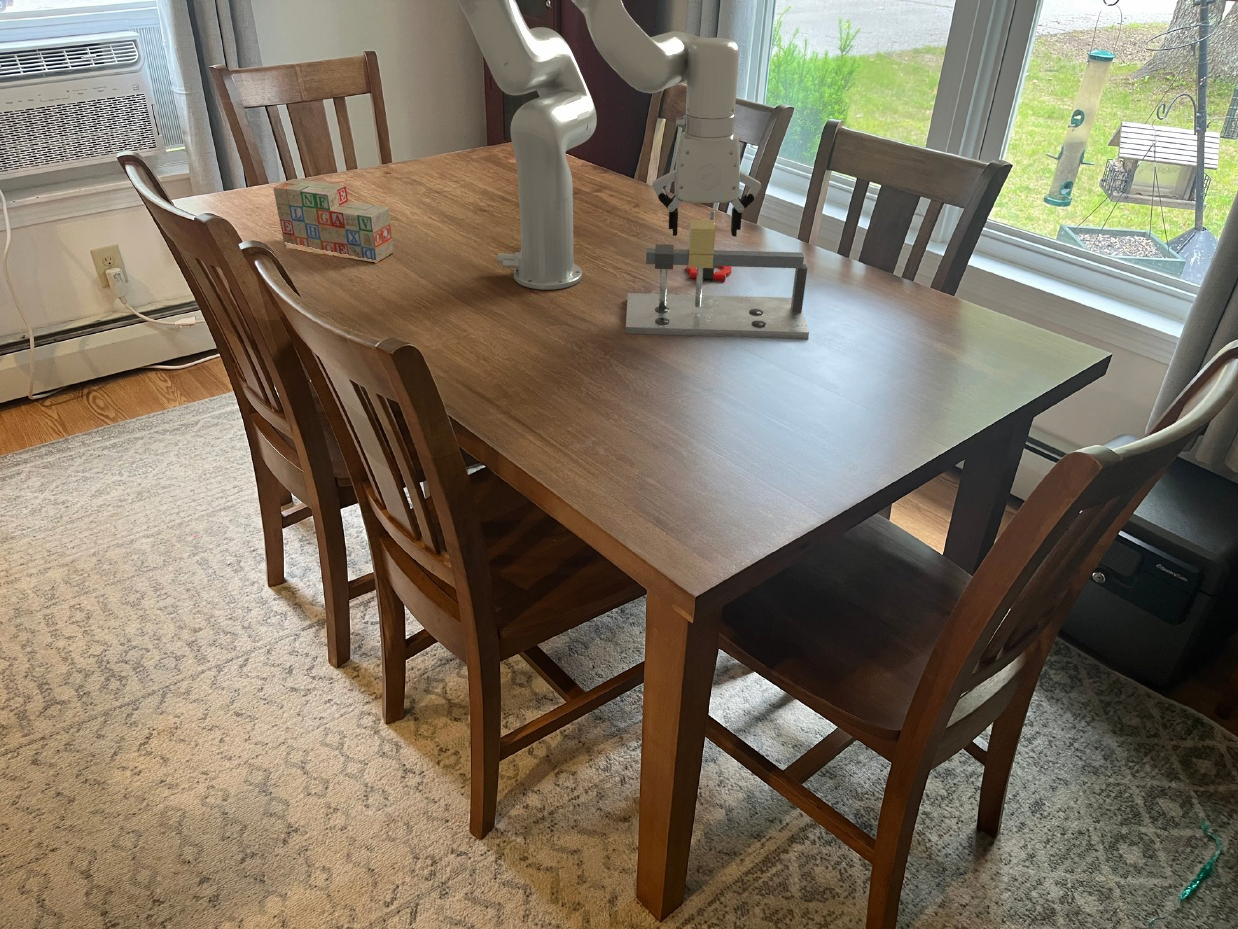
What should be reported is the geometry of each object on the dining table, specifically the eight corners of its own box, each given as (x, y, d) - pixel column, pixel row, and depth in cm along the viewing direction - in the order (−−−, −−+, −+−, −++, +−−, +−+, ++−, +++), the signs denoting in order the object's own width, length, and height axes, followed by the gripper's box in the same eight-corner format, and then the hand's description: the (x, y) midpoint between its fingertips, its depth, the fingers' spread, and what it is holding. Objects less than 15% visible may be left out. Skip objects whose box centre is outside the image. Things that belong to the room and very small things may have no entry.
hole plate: (625, 333, 157) (625, 326, 157) (627, 299, 169) (627, 292, 168) (808, 338, 157) (809, 331, 156) (797, 304, 168) (798, 297, 168)
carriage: (686, 306, 162) (690, 228, 154) (685, 296, 165) (689, 219, 158) (709, 307, 161) (715, 229, 154) (708, 296, 165) (714, 220, 158)
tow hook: (688, 263, 185) (684, 279, 177) (693, 197, 178) (689, 210, 171) (732, 267, 184) (729, 283, 176) (738, 200, 177) (736, 214, 170)
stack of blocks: (395, 254, 186) (387, 191, 179) (376, 265, 181) (368, 200, 174) (303, 238, 192) (293, 177, 185) (283, 248, 187) (272, 186, 180)
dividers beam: (644, 310, 162) (646, 253, 157) (644, 299, 166) (646, 243, 160) (802, 315, 162) (810, 258, 156) (799, 304, 165) (806, 248, 160)
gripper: (653, 131, 144) (651, 240, 154) (768, 132, 144) (759, 242, 153) (653, 119, 151) (651, 225, 160) (763, 120, 150) (755, 226, 160)
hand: (704, 233), depth 157 cm, fingers open, 9 cm apart
